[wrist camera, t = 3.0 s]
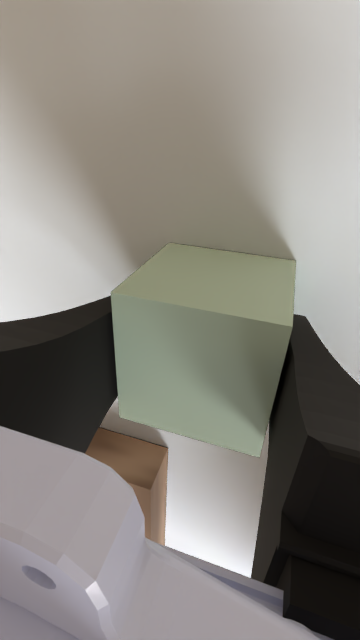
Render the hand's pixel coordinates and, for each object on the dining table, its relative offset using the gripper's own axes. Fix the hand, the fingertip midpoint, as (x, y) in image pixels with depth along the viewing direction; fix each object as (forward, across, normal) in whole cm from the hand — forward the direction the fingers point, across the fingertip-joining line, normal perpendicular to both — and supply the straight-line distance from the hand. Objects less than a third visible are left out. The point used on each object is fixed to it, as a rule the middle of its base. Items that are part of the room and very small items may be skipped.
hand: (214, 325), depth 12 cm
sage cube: (+1, 0, 0) cm, 1 cm away
